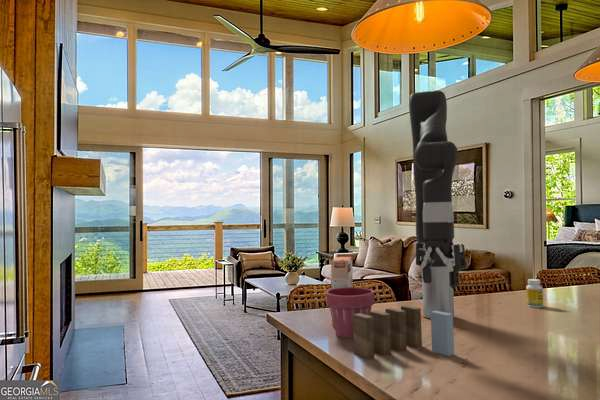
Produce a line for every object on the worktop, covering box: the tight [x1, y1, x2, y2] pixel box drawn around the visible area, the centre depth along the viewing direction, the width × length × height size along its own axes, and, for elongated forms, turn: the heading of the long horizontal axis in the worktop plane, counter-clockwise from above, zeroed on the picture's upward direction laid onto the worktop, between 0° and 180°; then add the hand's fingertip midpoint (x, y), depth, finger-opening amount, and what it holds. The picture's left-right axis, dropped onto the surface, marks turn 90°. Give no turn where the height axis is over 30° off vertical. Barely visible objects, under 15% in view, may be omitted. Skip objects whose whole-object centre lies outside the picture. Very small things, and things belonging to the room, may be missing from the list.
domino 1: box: [353, 313, 375, 360], centre depth 119 cm, size 2×5×10 cm, turn 31°
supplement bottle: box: [525, 278, 544, 308], centre depth 171 cm, size 5×5×10 cm
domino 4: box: [400, 304, 423, 348], centre depth 127 cm, size 2×5×10 cm, turn 31°
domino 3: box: [384, 307, 408, 352], centre depth 124 cm, size 2×5×10 cm, turn 31°
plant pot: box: [325, 286, 375, 339], centre depth 140 cm, size 14×14×13 cm
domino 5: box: [430, 311, 455, 357], centre depth 119 cm, size 2×5×10 cm, turn 31°
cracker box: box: [330, 256, 354, 327], centre depth 156 cm, size 14×6×21 cm, turn 168°
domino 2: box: [370, 310, 392, 356], centre depth 121 cm, size 2×5×10 cm, turn 32°
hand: (440, 284), depth 119 cm, fingers open, 8 cm apart
